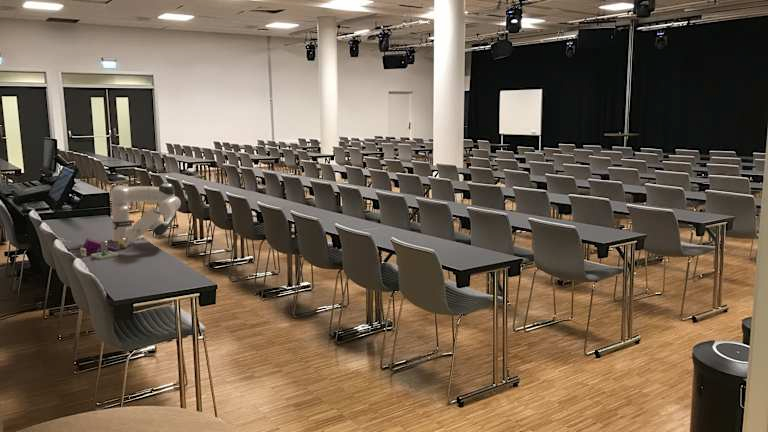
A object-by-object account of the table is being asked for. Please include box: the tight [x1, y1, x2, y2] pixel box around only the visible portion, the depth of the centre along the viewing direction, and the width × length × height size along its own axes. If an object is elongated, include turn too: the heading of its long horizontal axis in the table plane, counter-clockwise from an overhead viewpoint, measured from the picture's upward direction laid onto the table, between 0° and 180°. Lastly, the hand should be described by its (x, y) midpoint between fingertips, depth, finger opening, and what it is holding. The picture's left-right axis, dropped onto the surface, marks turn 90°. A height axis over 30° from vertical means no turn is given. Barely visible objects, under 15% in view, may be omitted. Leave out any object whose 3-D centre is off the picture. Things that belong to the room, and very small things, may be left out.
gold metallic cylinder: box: [118, 238, 127, 250], centre depth 432 cm, size 5×5×7 cm
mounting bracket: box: [83, 237, 116, 256], centre depth 421 cm, size 9×8×18 cm
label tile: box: [80, 247, 87, 257], centre depth 410 cm, size 1×6×5 cm, turn 52°
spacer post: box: [99, 240, 109, 256], centre depth 408 cm, size 4×4×9 cm
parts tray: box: [90, 250, 120, 261], centre depth 409 cm, size 12×12×2 cm
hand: (124, 244), depth 413 cm, fingers open, 8 cm apart
